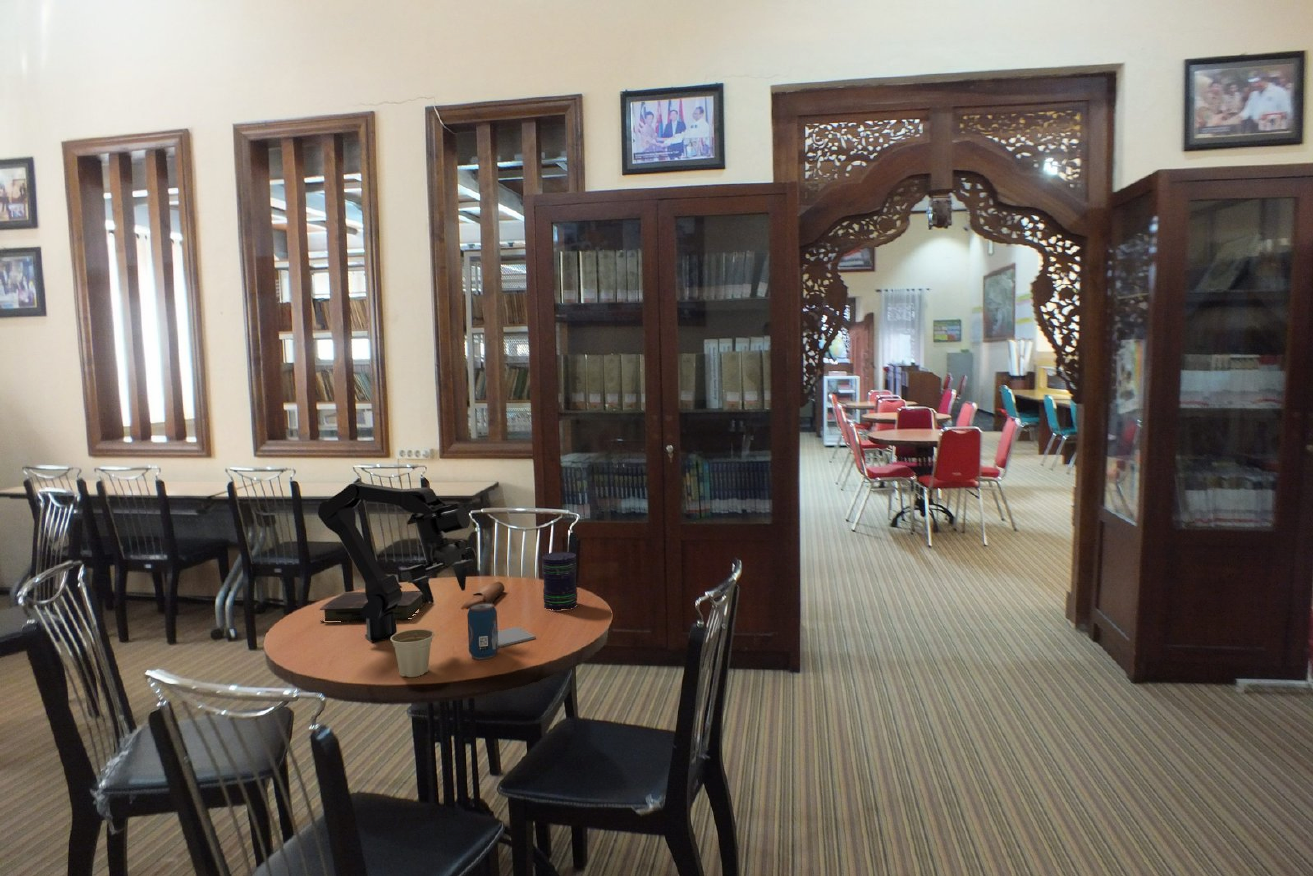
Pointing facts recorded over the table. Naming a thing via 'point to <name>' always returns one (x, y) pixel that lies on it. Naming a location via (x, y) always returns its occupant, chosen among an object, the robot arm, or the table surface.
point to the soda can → (482, 630)
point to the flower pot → (412, 651)
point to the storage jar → (559, 580)
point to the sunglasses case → (485, 594)
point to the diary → (353, 602)
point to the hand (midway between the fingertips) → (448, 596)
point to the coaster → (513, 636)
